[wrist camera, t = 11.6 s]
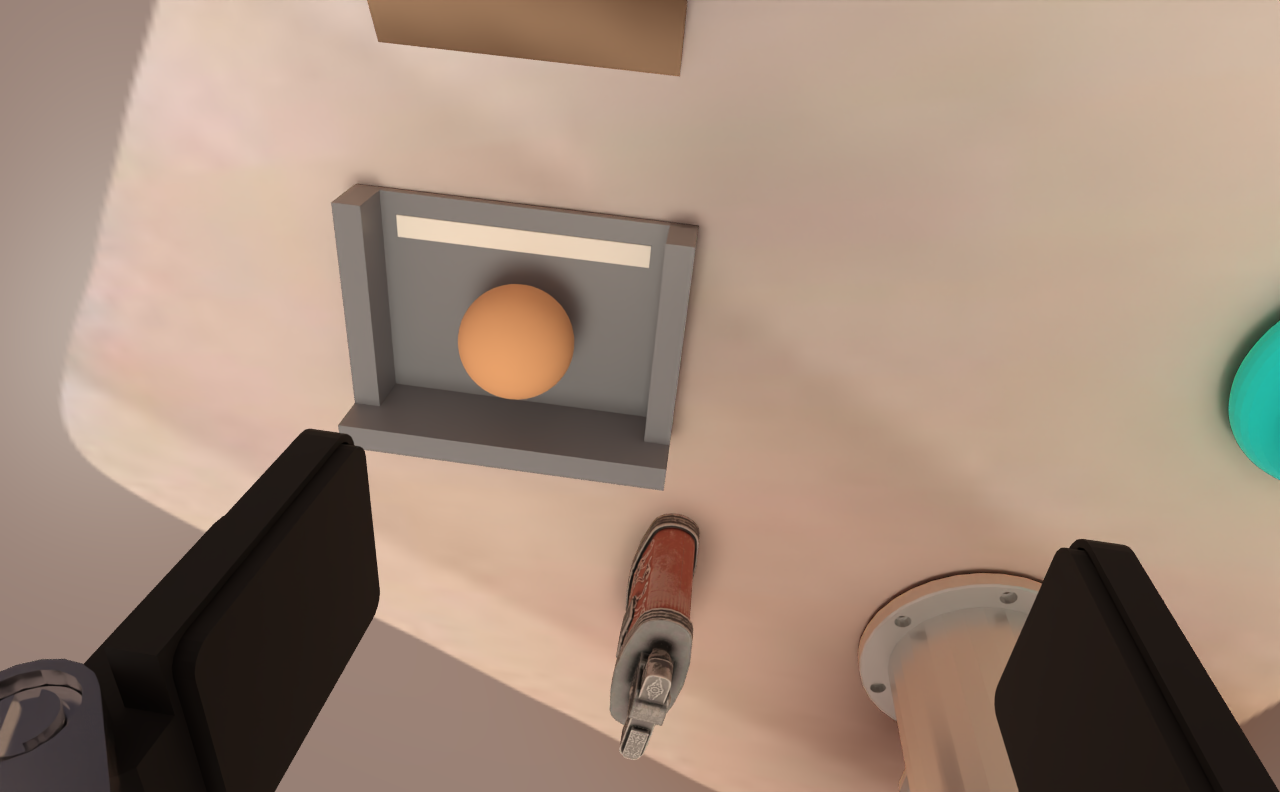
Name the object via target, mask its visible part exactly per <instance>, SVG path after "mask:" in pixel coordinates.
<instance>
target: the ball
mask: <svg viewBox="0 0 1280 792" xmlns="http://www.w3.org/2000/svg"><path fill="white" fill-rule="evenodd" d="M458 349H459V355H460V359H461V361H462V364H463V366H464V368H465V370H466V372H467V373H468V375H469V376H470V377H471V379H472V380H473V381H474V382H475V383H476V384H477V385H479V386H480V387H481V388H482V389H484V390H485V391H487V392H489V393H491V394H493V395H495V396H498V397H502V398H505V399H516V400H519V399H528V398H532V397H535V396H538V395H540V394H542V393H544V392H546V391H548V390H549V389H551V388H552V387H553V386H555V385H556V384H557V383H558V382H559V381H560V380H561V378H562V377H563V376H564V374H565V373H566V371H567V369H568V368H569V365H570V363H571V360H572V357H573V352H574V333H573V328H572V324H571V322H570V319H569V317H568V315H567V313H566V312H565V310H564V309H563V307H562V306H561V305H560V304H559V303H558V302H557V301H556V300H555V299H554V298H553V297H552V296H550V295H549V294H548V293H546V292H544V291H542V290H540V289H538V288H535V287H533V286H529V285H522V284H508V285H502V286H499V287H496V288H493V289H491V290H489V291H487V292H485V293H484V294H482V295H481V296H479V297H478V298H477V299H476V300H475V301H474V302H473V303H472V304H471V306H470V307H469V308H468V310H467V311H466V313H465V314H464V316H463V319H462V321H461V324H460V327H459V333H458Z"/></svg>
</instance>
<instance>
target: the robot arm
mask: <svg viewBox="0 0 1280 792" xmlns="http://www.w3.org/2000/svg"><path fill="white" fill-rule="evenodd" d="M379 596H380V587H379V578H378V568H377V559H376V549H375V540H374V530H373V521H372V511H371V502H370V492H369V483H368V473H367V464H366V455H365V451H364V449H363V448H362V447H360V446H355V445H354V441H353V439H352V437H351V436H350V435H348V434H344V433H337V432H330V431H323V430H316V429H306V430H304V431H303V432H302V433H301V434H300V435H299V436H298V437H297V438H296V439H295V440H294V441H293V442H292V443H291V444H290V445H289V447H288V448H287V449H286V450H285V451H284V452H283V453H282V454H281V455H280V456H279V457H278V458H277V460H276V461H275V462H274V463H273V464H272V465H271V466H270V467H269V468H268V469H267V470H266V471H265V473H264V474H263V475H262V476H261V477H260V478H259V479H258V480H257V481H256V482H255V483H254V484H253V486H252V487H251V488H250V489H249V490H248V491H247V492H246V493H245V494H244V495H243V496H242V497H241V499H240V500H239V501H238V502H237V503H236V504H235V505H234V506H233V507H232V508H231V509H230V510H229V511H228V513H227V514H226V515H225V516H223V517H222V518H220V519H219V520H218V521H217V522H216V523H214V524H213V525H212V526H211V528H210V529H209V530H208V531H207V532H206V533H205V534H204V535H203V536H202V537H201V538H200V539H199V540H198V542H197V543H196V544H195V545H194V546H193V547H192V548H191V549H190V550H189V551H188V552H187V553H186V554H185V556H184V557H183V558H182V559H181V560H180V561H179V562H178V563H177V564H176V565H175V566H174V567H173V568H172V569H171V571H170V572H169V573H168V574H167V575H166V576H165V577H164V578H163V579H162V580H161V581H160V582H159V583H158V585H157V586H156V587H155V588H154V589H153V590H152V591H151V592H150V593H149V594H148V595H147V597H146V598H145V599H144V600H143V601H142V602H141V603H140V604H139V605H138V606H137V607H136V608H135V610H133V611H132V613H131V614H130V615H129V616H128V617H127V618H126V619H125V620H124V621H123V622H122V623H121V624H120V625H119V627H118V628H117V629H116V630H115V631H114V632H113V633H112V634H111V635H110V636H109V637H108V638H107V639H106V640H105V642H104V643H103V644H102V645H101V646H100V647H99V648H98V649H97V650H96V651H95V652H94V653H93V654H92V656H91V657H90V658H89V659H88V660H87V661H86V662H85V663H84V664H82V663H78V662H75V661H71V660H67V659H41V660H36V661H32V662H27V663H22V664H18V665H15V666H12V667H10V668H8V669H5V670H3V671H0V792H275V790H276V788H277V786H278V785H279V783H280V781H281V779H282V778H283V776H284V774H285V772H286V771H287V769H288V767H289V765H290V764H291V762H292V760H293V758H294V757H295V755H296V753H297V751H298V750H299V748H300V746H301V744H302V743H303V741H304V739H305V737H306V735H307V734H308V732H309V730H310V728H311V727H312V725H313V723H314V721H315V719H316V718H317V716H318V714H319V712H320V711H321V709H322V707H323V706H324V704H325V702H326V700H327V698H328V697H329V695H330V693H331V691H332V690H333V688H334V686H335V684H336V683H337V681H338V679H339V677H340V675H341V674H342V672H343V670H344V668H345V666H346V665H347V663H348V661H349V660H350V658H351V656H352V654H353V653H354V651H355V649H356V647H357V646H358V644H359V642H360V640H361V638H362V637H363V635H364V633H365V631H366V630H367V628H368V626H369V624H370V623H371V621H372V619H373V617H374V615H375V613H376V610H377V607H378V603H379ZM858 664H859V673H860V677H861V681H862V685H863V687H864V689H865V691H866V693H867V695H868V696H869V698H870V700H871V701H872V702H873V703H874V704H875V705H876V706H877V707H878V708H879V709H880V710H881V711H882V712H884V713H885V714H886V715H888V716H889V717H890V718H892V719H893V720H895V721H897V725H898V730H899V735H900V741H901V746H902V751H903V757H904V762H905V770H904V772H903V774H902V777H901V779H900V781H899V784H898V786H899V792H1279V791H1278V789H1277V787H1276V785H1275V784H1274V782H1273V781H1272V779H1271V777H1270V776H1269V774H1268V772H1267V771H1266V769H1265V767H1264V766H1263V764H1262V762H1261V761H1260V759H1259V757H1258V756H1257V754H1256V753H1255V751H1254V749H1253V748H1252V746H1251V744H1250V743H1249V741H1248V739H1247V738H1246V736H1245V734H1244V733H1243V732H1242V729H1241V728H1240V726H1239V725H1238V723H1237V721H1236V720H1235V718H1234V716H1233V715H1232V713H1231V711H1230V710H1229V708H1228V706H1227V705H1226V703H1225V702H1224V700H1223V698H1222V697H1221V695H1220V693H1219V692H1218V690H1217V688H1216V687H1215V685H1214V683H1213V682H1212V680H1211V678H1210V677H1209V675H1208V674H1207V672H1206V670H1205V669H1204V667H1203V665H1202V664H1201V662H1200V660H1199V659H1198V657H1197V655H1196V654H1195V652H1194V651H1193V649H1192V647H1191V646H1190V644H1189V642H1188V641H1187V639H1186V637H1185V636H1184V634H1183V632H1182V631H1181V629H1180V627H1179V626H1178V624H1177V623H1176V621H1175V619H1174V618H1173V616H1172V614H1171V613H1170V611H1169V609H1168V608H1167V606H1166V604H1165V603H1164V601H1163V600H1162V598H1161V596H1160V595H1159V593H1158V591H1157V590H1156V588H1155V586H1154V585H1153V583H1152V581H1151V580H1150V578H1149V577H1148V575H1147V573H1146V572H1145V570H1144V568H1143V567H1142V565H1141V563H1140V562H1139V560H1138V558H1137V557H1136V555H1135V553H1134V552H1133V551H1132V550H1131V549H1130V547H1127V546H1125V545H1121V544H1114V543H1107V542H1100V541H1093V540H1086V539H1079V540H1076V541H1075V542H1074V543H1072V545H1071V546H1070V548H1060V549H1059V550H1058V551H1057V552H1056V554H1055V556H1054V558H1053V560H1052V562H1051V565H1050V567H1049V569H1048V571H1047V574H1046V576H1045V578H1044V581H1043V583H1039V582H1036V581H1034V580H1031V579H1028V578H1024V577H1018V576H1012V575H1007V574H992V573H975V574H965V575H955V576H951V577H947V578H942V579H938V580H934V581H931V582H928V583H926V584H923V585H920V586H918V587H915V588H913V589H911V590H909V591H907V592H905V593H904V594H902V595H900V596H898V597H897V598H895V599H893V600H892V601H891V602H889V603H888V604H887V605H886V606H885V607H883V608H882V609H881V610H880V611H879V612H878V613H877V614H876V615H875V616H874V618H873V619H872V620H871V621H870V622H869V624H868V625H867V627H866V629H865V631H864V633H863V635H862V637H861V639H860V644H859V649H858Z"/></svg>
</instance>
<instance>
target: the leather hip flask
mask: <svg viewBox="0 0 1280 792" xmlns="http://www.w3.org/2000/svg"><path fill="white" fill-rule="evenodd" d="M698 546H699V528H698V526H697V525H696V524H695V522H693V521H692V520H691V519H689V518H687V517H685V516H682V515H678V514H666V515H662V516H660V517H657V518H656V519H655V520H654V521H653V523H652V524H651V526H650V527H649V529H648V531H647V532H646V534H645V536H644V537H643V539H642V540H641V543H640V545H639V547H638V550H637V552H636V554H635V557H634V559H633V562H632V567H631V571H630V576H629V581H628V587H627V595H626V613H625V615H624V618H623V623H622V628H621V632H620V637H619V643H618V649H617V655H616V658H617V660H616V664H615V669H614V673H613V678H612V684H611V691H610V712H611V715H612V716H613V718H614V719H615V720H616V721H618V722H620V723H621V724H623V725H624V727H623V730H622V736H621V743H620V750H619V751H620V753H621V754H622V755H623V757H625V758H628V759H632V760H638V759H639V758H640V757H642V756H643V754H644V752H645V750H646V747H647V745H648V742H649V740H650V737H651V735H652V732H653V730H654V727H655V725H660V726H661V725H662V724H663V721H664V719H665V715H666V713H667V712H668V711H669V709H670V708H671V707H672V706H673V704H674V702H675V700H676V698H677V696H678V695H679V693H680V691H681V689H682V687H683V685H684V682H685V678H686V675H687V672H688V668H689V665H690V658H691V649H692V639H693V626H692V623H691V621H690V607H691V593H692V580H693V576H694V573H695V569H696V565H697V556H698Z"/></svg>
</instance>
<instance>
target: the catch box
mask: <svg viewBox="0 0 1280 792" xmlns="http://www.w3.org/2000/svg"><path fill="white" fill-rule="evenodd" d="M331 204H332V213H333V221H334V230H335V238H336V247H337V255H338V263H339V272H340V280H341V289H342V297H343V306H344V314H345V322H346V331H347V339H348V348H349V356H350V365H351V373H352V381H353V390H354V398H355V404H354V405H353V406H352V408H351V409H350V410H349V412H348V413H347V414H346V416H345V417H344V418H343V420H342V421H341V422H340V424H339V425H338V427H339V433H344V434H348V435H350V436H351V437H352V439H353V441H354V445H355V446H360V447H362V448H363V449H364V450H369V451H376V452H384V453H391V454H398V455H406V456H413V457H420V458H428V459H435V460H442V461H450V462H457V463H464V464H472V465H479V466H486V467H494V468H501V469H508V470H515V471H523V472H530V473H537V474H545V475H552V476H559V477H567V478H574V479H581V480H589V481H596V482H603V483H611V484H618V485H625V486H633V487H640V488H647V489H655V490H662V491H664V483H665V476H666V468H667V461H668V453H669V445H670V438H671V430H672V423H673V415H674V407H675V400H676V392H677V385H678V377H679V370H680V362H681V355H682V347H683V340H684V332H685V324H686V317H687V309H688V302H689V294H690V287H691V279H692V272H693V264H694V257H695V249H696V241H697V233H698V226H696V225H688V224H679V223H671V222H663V221H655V220H647V219H639V218H630V217H622V216H614V215H606V214H598V213H590V212H581V211H573V210H565V209H557V208H549V207H540V206H532V205H524V204H516V203H508V202H500V201H491V200H483V199H475V198H467V197H459V196H451V195H442V194H434V193H426V192H418V191H410V190H402V189H393V188H385V187H377V186H369V185H361V184H355V185H354V186H352V187H351V188H350V189H348V190H347V191H346V192H344V193H343V194H342V195H340V196H339V197H338V198H337V199H335V200H334V201H333V202H331ZM508 284H522V285H529V286H533V287H535V288H538V289H540V290H542V291H544V292H546V293H548V294H549V295H550V296H552V297H553V298H554V299H555V300H556V301H557V302H558V303H559V304H560V305H561V306H562V307H563V309H564V310H565V312H566V313H567V315H568V317H569V319H570V322H571V324H572V328H573V333H574V352H573V357H572V360H571V363H570V365H569V368H568V369H567V371H566V373H565V374H564V376H563V377H562V378H561V380H560V381H559V382H558V383H557V384H556V385H555V386H553V387H552V388H551V389H549V390H548V391H546V392H544V393H542V394H540V395H538V396H535V397H532V398H528V399H519V400H516V399H505V398H502V397H498V396H495V395H493V394H491V393H489V392H487V391H485V390H484V389H482V388H481V387H480V386H479V385H477V384H476V383H475V382H474V381H473V380H472V379H471V377H470V376H469V375H468V373H467V372H466V370H465V368H464V366H463V364H462V361H461V359H460V355H459V349H458V333H459V327H460V324H461V321H462V319H463V316H464V314H465V313H466V311H467V310H468V308H469V307H470V306H471V304H472V303H473V302H474V301H475V300H476V299H477V298H478V297H479V296H481V295H482V294H484V293H485V292H487V291H489V290H491V289H493V288H496V287H499V286H502V285H508Z"/></svg>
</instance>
